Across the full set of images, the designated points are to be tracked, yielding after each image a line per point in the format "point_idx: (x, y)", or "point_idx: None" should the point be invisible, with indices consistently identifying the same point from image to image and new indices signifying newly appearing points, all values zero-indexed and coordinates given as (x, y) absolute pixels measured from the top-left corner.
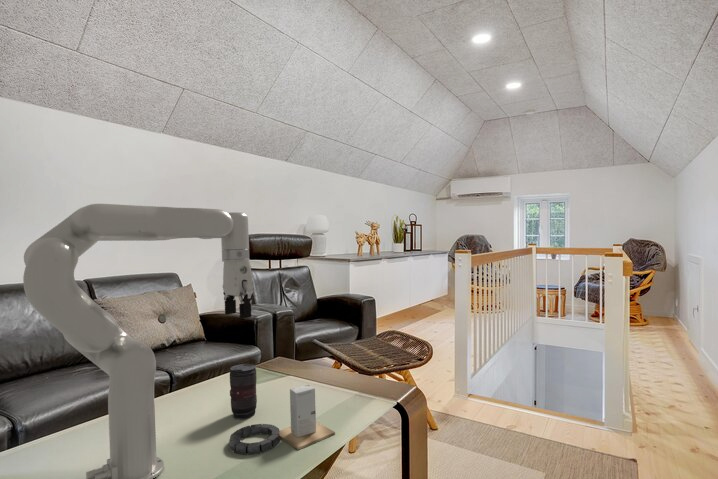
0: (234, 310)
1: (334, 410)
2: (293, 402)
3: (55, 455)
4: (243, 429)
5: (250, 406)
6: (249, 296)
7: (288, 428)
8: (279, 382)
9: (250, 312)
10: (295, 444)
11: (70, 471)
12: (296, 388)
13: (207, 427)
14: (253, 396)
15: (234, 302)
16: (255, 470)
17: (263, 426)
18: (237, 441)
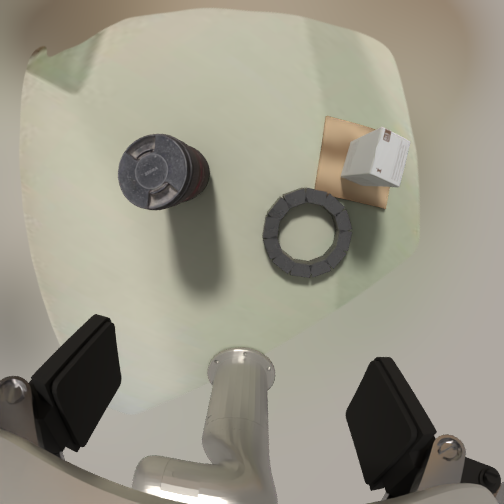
0: (106, 343)
1: (326, 62)
2: (376, 182)
3: (121, 388)
4: (271, 233)
5: (208, 174)
6: (484, 486)
7: (323, 167)
8: (116, 45)
9: (399, 378)
10: (375, 203)
11: (172, 397)
12: (382, 164)
13: (181, 249)
14: (203, 163)
15: (68, 384)
16: (370, 281)
17: (294, 203)
18: (303, 267)
